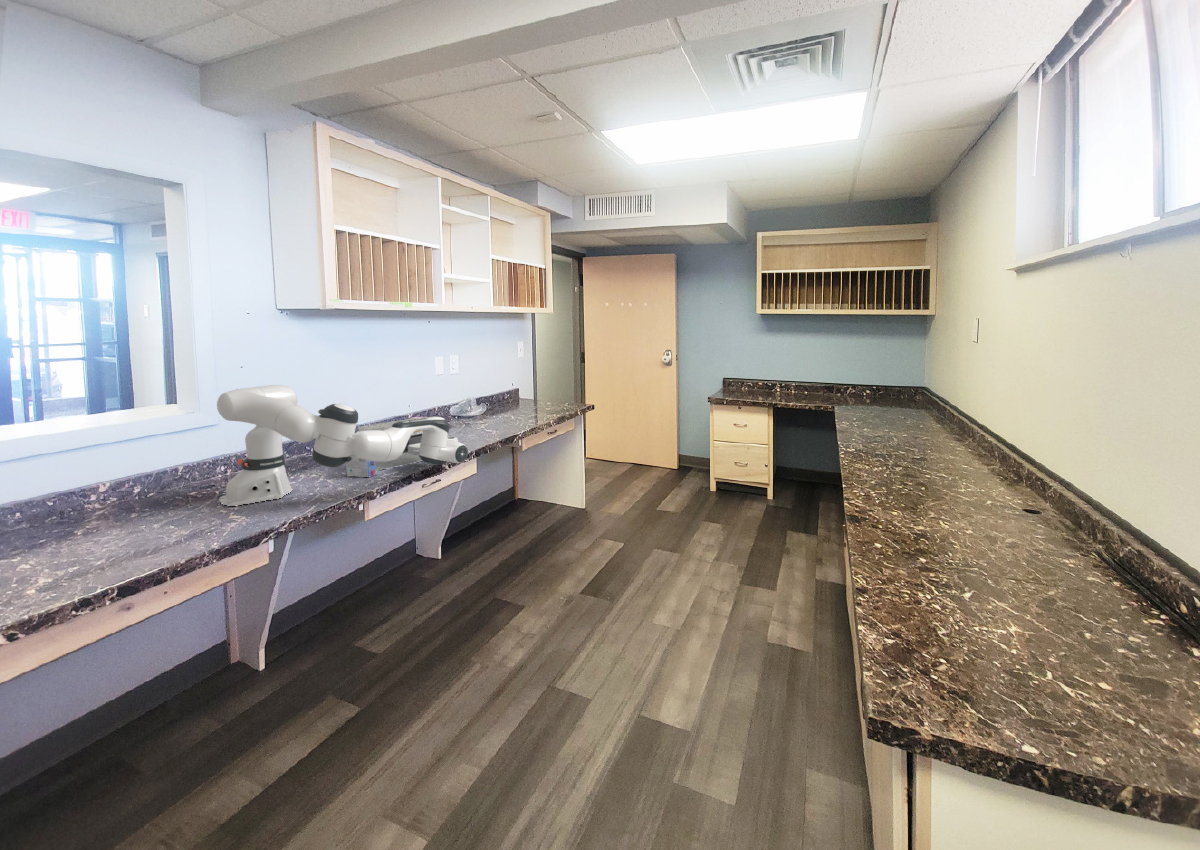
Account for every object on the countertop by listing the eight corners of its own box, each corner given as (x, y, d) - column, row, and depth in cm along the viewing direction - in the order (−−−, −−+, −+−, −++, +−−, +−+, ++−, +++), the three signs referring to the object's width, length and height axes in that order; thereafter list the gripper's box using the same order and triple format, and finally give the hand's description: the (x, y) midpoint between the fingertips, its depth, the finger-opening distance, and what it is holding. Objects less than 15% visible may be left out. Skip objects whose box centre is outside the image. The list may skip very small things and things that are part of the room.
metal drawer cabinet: (372, 472, 233) (368, 429, 229) (362, 468, 239) (358, 426, 235) (437, 458, 254) (434, 419, 251) (426, 455, 261) (423, 416, 257)
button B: (409, 450, 242) (408, 439, 241) (403, 449, 245) (402, 437, 244) (430, 446, 249) (429, 435, 248) (424, 445, 252) (423, 434, 251)
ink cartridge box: (377, 474, 230) (374, 439, 227) (369, 478, 225) (365, 442, 222) (355, 473, 232) (351, 438, 229) (346, 477, 227) (343, 441, 224)
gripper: (418, 460, 229) (400, 455, 238) (461, 451, 243) (443, 446, 252) (416, 445, 227) (399, 440, 237) (460, 436, 242) (442, 432, 251)
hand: (422, 443), depth 245 cm, fingers closed
